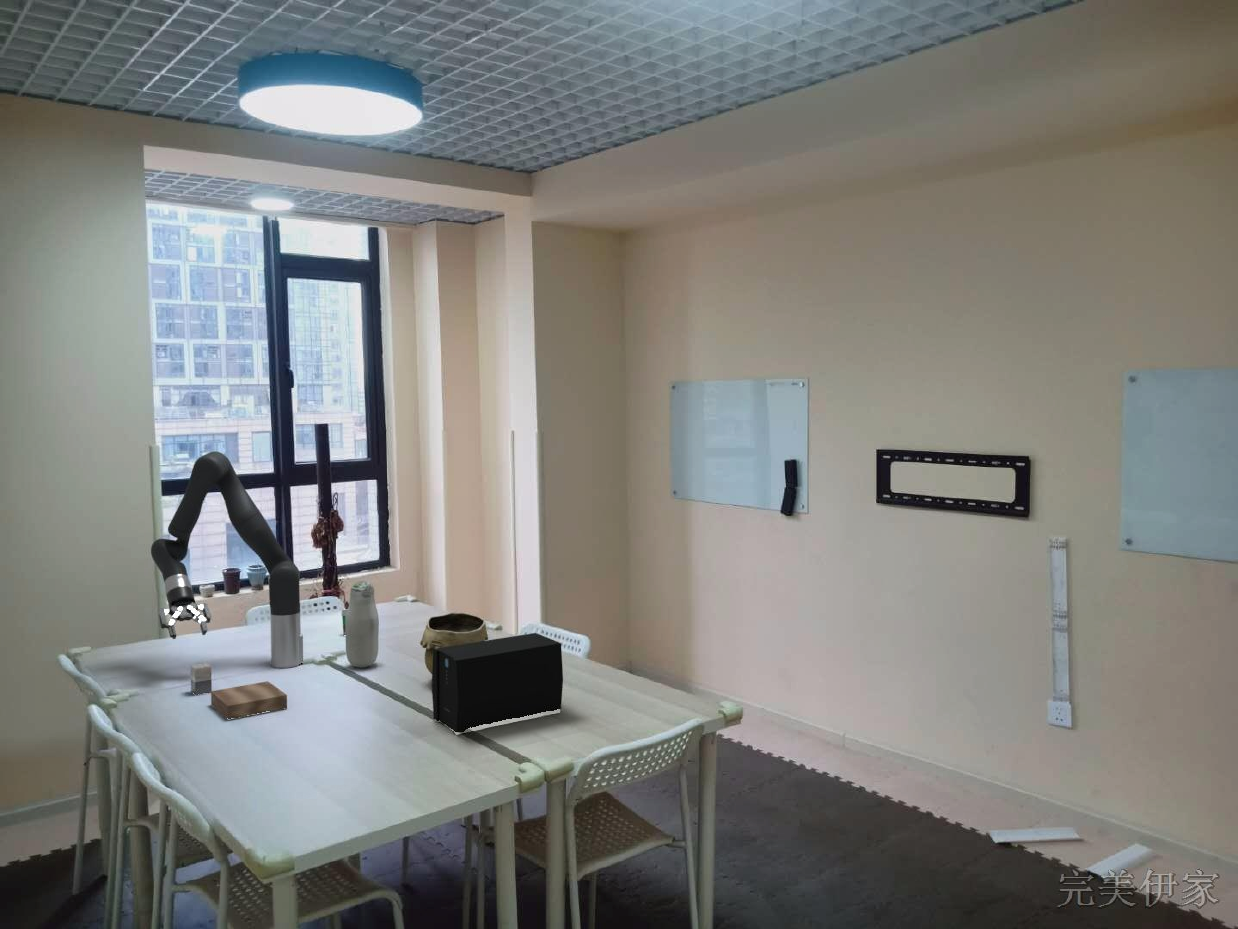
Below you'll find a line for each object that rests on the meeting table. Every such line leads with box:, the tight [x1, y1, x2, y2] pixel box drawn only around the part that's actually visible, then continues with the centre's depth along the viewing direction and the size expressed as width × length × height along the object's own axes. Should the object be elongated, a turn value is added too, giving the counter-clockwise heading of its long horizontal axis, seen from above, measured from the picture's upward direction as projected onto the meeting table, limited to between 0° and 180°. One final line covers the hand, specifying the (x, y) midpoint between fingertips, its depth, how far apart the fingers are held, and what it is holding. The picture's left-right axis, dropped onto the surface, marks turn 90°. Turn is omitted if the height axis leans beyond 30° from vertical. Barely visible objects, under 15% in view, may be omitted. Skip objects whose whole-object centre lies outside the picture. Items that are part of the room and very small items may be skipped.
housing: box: [190, 662, 213, 696], centre depth 282 cm, size 5×5×8 cm
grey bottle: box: [345, 580, 380, 668], centre depth 309 cm, size 10×10×28 cm
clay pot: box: [419, 612, 489, 675], centre depth 293 cm, size 21×21×20 cm
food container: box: [341, 609, 348, 636], centre depth 352 cm, size 12×6×10 cm, turn 168°
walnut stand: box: [210, 680, 288, 719], centre depth 269 cm, size 16×16×4 cm
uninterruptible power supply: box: [431, 632, 564, 732], centre depth 263 cm, size 16×34×20 cm, turn 125°
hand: (189, 635), depth 290 cm, fingers open, 8 cm apart
